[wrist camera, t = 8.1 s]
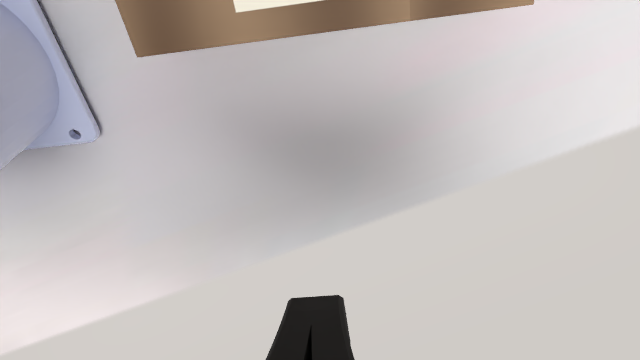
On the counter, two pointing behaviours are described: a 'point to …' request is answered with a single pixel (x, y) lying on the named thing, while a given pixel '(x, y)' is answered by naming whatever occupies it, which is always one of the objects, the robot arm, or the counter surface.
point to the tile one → (264, 4)
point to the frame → (271, 19)
